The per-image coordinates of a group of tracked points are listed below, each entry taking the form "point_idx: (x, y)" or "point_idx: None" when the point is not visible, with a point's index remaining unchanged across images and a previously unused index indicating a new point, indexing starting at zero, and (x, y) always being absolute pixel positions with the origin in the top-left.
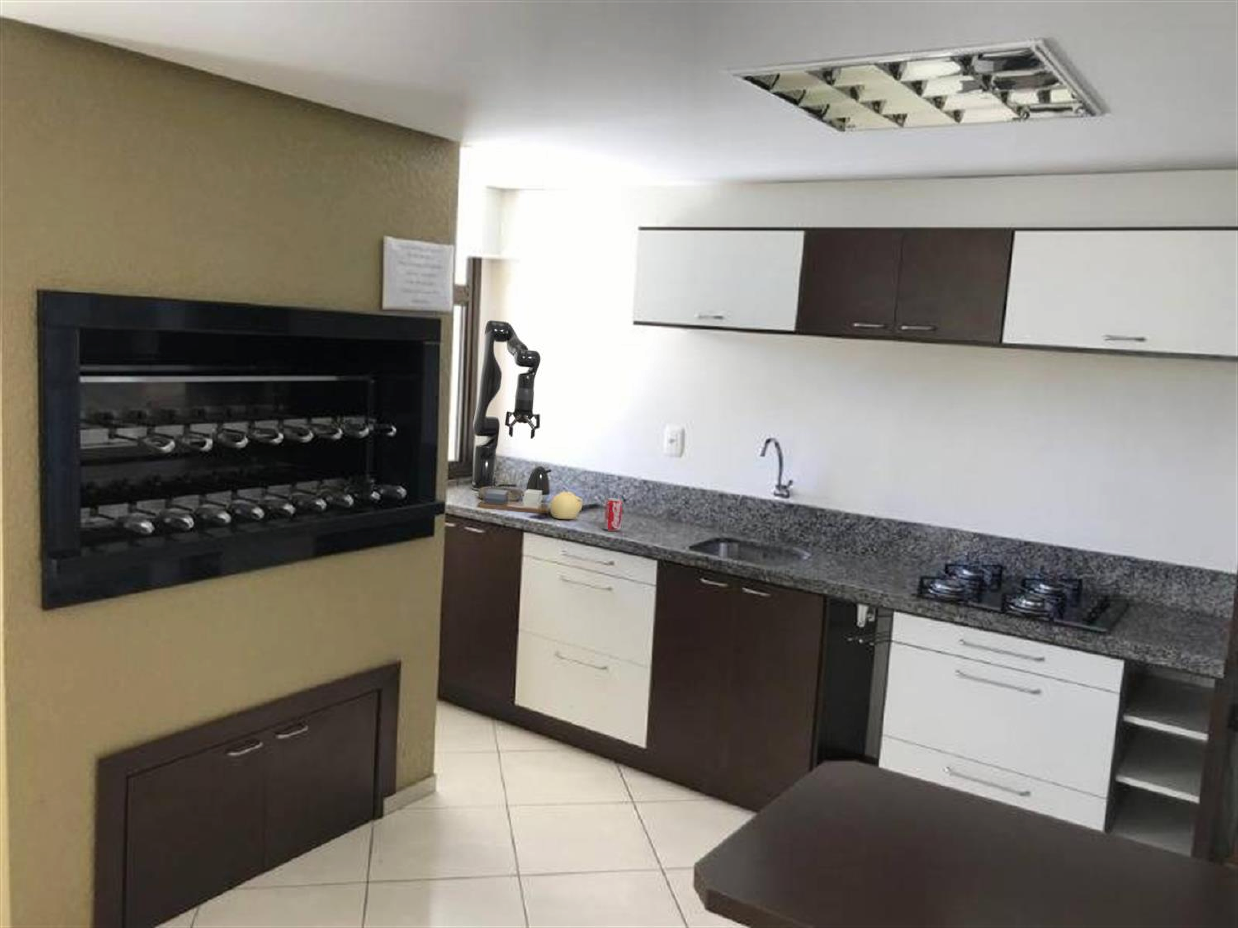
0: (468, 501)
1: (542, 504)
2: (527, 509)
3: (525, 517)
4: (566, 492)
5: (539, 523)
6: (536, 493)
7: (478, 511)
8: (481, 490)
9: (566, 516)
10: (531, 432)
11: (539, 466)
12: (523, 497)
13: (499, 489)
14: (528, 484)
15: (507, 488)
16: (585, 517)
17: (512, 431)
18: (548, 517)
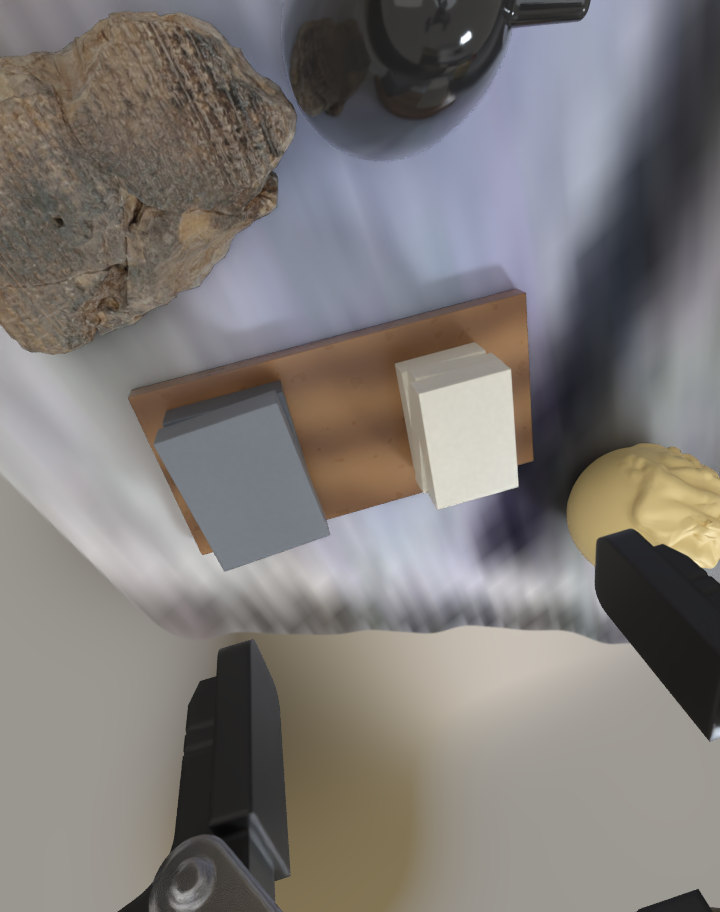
0: (61, 448)
1: (478, 321)
2: None
3: (465, 572)
4: (694, 560)
5: (537, 618)
6: (504, 488)
7: (261, 611)
8: (11, 309)
9: None
10: (678, 686)
11: (458, 5)
12: (425, 491)
13: (117, 234)
14: (327, 118)
15: (155, 174)
16: (697, 388)
17: (271, 763)
18: (546, 507)
